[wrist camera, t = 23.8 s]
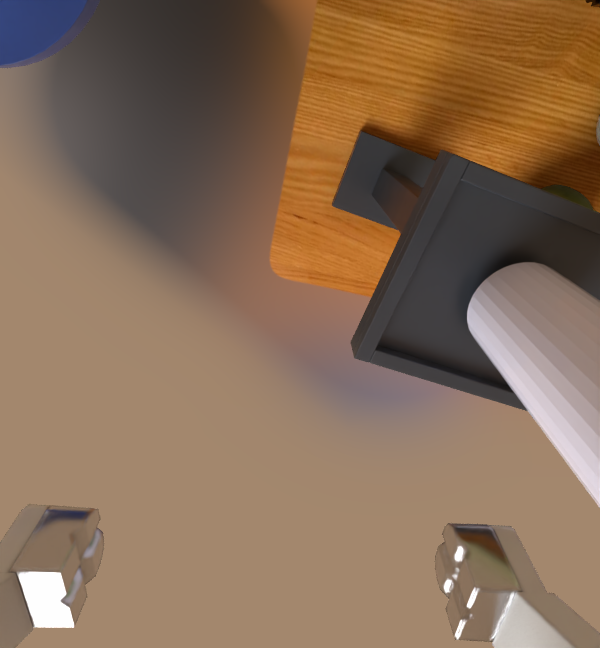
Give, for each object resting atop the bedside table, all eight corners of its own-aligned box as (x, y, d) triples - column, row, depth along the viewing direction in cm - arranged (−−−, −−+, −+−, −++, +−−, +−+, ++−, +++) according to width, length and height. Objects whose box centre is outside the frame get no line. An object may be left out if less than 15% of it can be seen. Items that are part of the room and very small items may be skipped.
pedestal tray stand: (319, 209, 50) (353, 358, 22) (355, 116, 46) (452, 153, 18) (416, 244, 52) (561, 422, 24) (459, 158, 48) (695, 251, 20)
